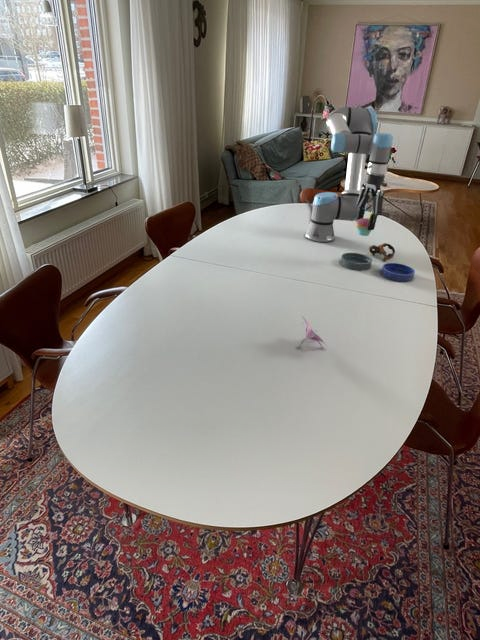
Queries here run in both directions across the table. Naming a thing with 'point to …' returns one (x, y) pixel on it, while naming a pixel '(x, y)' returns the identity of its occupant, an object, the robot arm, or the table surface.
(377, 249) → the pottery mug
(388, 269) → the blue dish
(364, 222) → the cupcake
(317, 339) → the lily
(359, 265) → the slate dish
